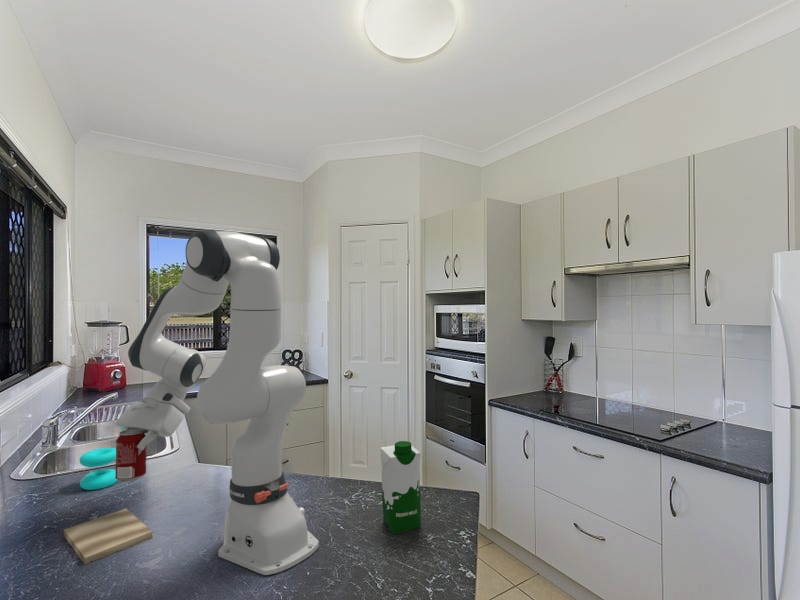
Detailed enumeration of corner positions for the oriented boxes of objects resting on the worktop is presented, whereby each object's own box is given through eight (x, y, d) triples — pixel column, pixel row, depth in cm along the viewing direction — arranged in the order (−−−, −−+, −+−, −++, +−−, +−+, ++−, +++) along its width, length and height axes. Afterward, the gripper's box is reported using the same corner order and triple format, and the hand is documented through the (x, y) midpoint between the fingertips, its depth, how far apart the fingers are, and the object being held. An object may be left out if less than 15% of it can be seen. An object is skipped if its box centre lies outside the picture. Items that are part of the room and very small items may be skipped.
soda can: (132, 483, 107) (133, 435, 108) (108, 482, 108) (109, 434, 109) (152, 474, 114) (152, 428, 115) (129, 473, 115) (130, 428, 116)
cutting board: (152, 537, 100) (152, 531, 100) (85, 564, 90) (84, 557, 90) (126, 514, 111) (125, 508, 111) (63, 535, 102) (63, 529, 102)
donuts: (84, 460, 124) (75, 452, 130) (85, 494, 124) (76, 485, 130) (123, 450, 131) (113, 444, 138) (124, 483, 131) (114, 475, 138)
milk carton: (391, 537, 97) (388, 449, 97) (378, 518, 106) (376, 438, 106) (426, 529, 100) (423, 444, 101) (411, 511, 109) (409, 433, 109)
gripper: (131, 392, 122) (96, 437, 113) (179, 396, 113) (144, 445, 104) (147, 404, 126) (114, 448, 117) (194, 409, 117) (162, 457, 108)
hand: (128, 447), depth 111 cm, fingers closed on soda can, 6 cm apart
